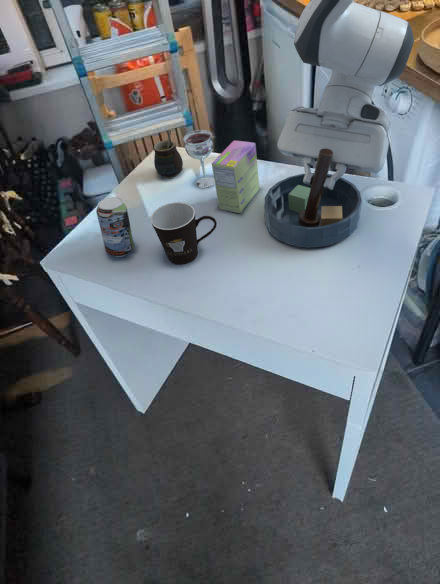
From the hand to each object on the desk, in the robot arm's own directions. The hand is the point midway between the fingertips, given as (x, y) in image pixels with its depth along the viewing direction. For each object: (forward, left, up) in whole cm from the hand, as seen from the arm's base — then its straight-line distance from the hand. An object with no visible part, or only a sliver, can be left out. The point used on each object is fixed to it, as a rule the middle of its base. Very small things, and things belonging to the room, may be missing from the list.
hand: (317, 186), depth 82 cm
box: (+20, -7, -11) cm, 24 cm away
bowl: (+2, -3, -11) cm, 12 cm away
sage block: (+5, -6, -10) cm, 13 cm away
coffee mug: (+23, +14, -11) cm, 29 cm away
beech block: (-3, -1, -10) cm, 10 cm away
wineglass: (+31, -12, -11) cm, 35 cm away
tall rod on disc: (+2, 0, -9) cm, 9 cm away
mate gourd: (+42, -14, -11) cm, 46 cm away
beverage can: (+38, +16, -11) cm, 43 cm away
